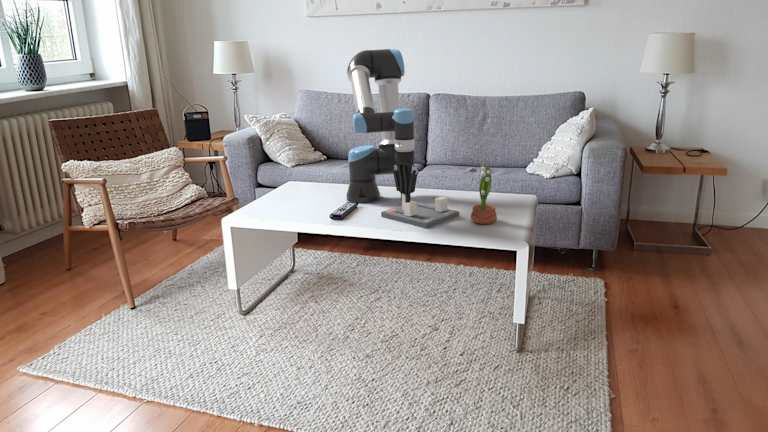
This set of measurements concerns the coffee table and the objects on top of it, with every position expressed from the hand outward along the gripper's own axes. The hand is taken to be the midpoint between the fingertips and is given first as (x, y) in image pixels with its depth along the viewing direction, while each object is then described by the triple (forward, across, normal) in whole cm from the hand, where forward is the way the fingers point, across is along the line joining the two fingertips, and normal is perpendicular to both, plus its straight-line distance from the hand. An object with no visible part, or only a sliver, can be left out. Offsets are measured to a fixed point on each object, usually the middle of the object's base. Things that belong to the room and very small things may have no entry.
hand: (405, 209), depth 228 cm
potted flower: (+4, +26, +16) cm, 31 cm away
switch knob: (+2, +8, +12) cm, 15 cm away
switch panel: (+4, +2, +6) cm, 8 cm away
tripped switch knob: (+2, +2, 0) cm, 3 cm away
